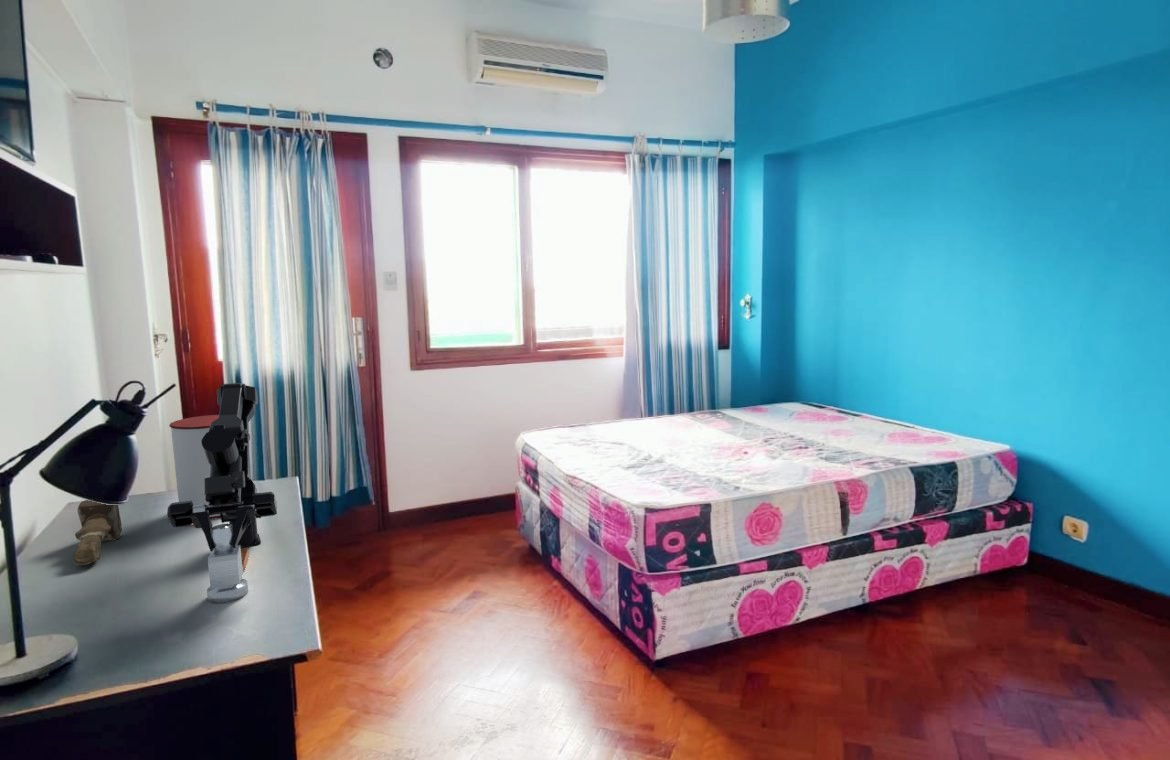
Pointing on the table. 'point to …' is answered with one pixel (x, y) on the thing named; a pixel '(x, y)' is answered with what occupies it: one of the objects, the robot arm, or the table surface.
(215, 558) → the clear square perfume bottle
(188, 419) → the container
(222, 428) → the robot arm
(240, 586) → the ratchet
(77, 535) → the brown boot
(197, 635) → the table surface
